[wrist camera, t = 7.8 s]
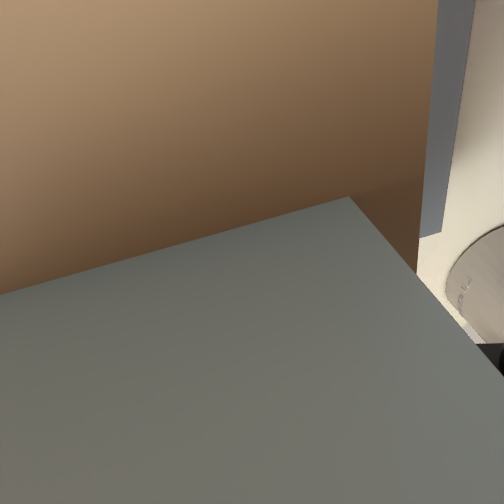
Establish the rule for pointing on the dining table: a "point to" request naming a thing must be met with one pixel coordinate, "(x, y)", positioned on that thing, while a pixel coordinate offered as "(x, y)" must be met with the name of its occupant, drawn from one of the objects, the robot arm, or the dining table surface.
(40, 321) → the crate
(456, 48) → the dock
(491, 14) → the dining table surface
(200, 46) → the brown wooden box
